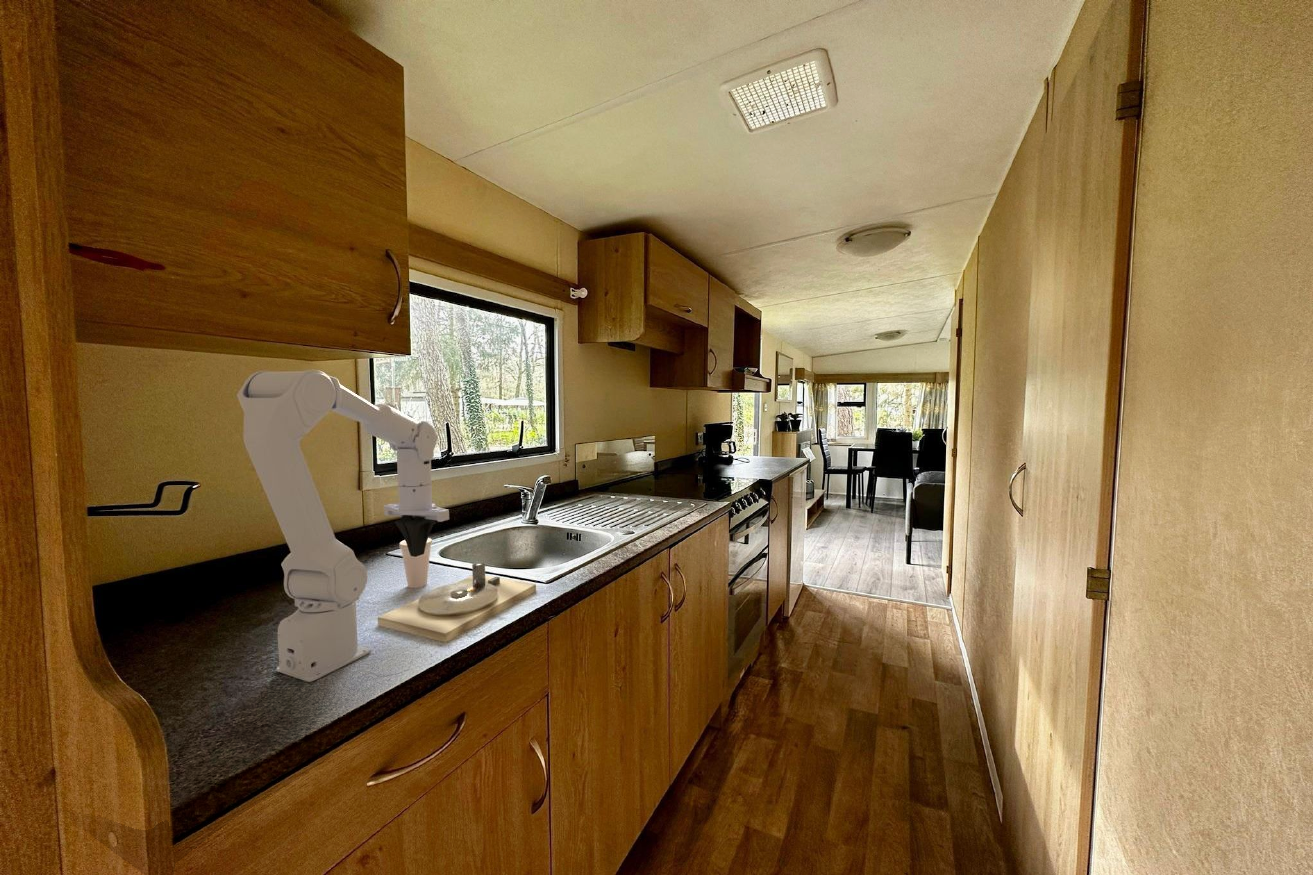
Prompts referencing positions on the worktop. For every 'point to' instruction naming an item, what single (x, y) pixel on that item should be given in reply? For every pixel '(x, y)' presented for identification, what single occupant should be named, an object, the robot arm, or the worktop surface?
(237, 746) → the worktop surface
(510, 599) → the stand plate
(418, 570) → the smoothie
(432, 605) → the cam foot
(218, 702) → the worktop surface
